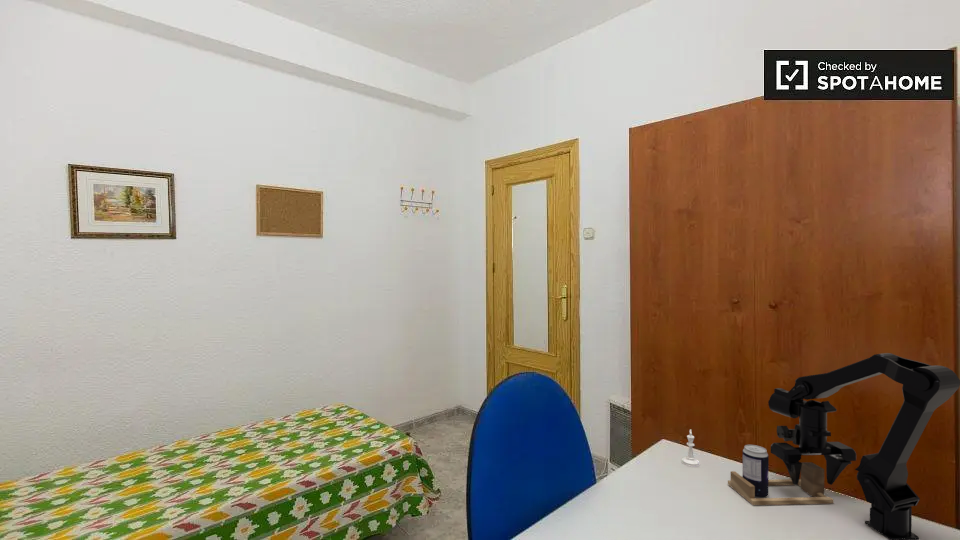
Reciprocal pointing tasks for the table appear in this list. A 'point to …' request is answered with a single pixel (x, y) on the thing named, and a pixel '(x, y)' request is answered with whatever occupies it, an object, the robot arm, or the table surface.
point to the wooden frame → (809, 483)
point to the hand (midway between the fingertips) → (812, 484)
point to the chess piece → (690, 453)
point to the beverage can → (756, 468)
